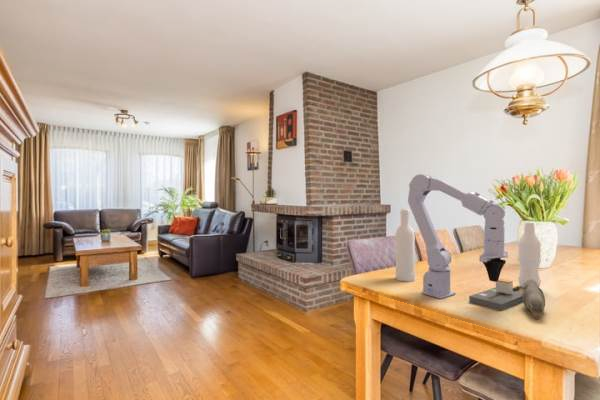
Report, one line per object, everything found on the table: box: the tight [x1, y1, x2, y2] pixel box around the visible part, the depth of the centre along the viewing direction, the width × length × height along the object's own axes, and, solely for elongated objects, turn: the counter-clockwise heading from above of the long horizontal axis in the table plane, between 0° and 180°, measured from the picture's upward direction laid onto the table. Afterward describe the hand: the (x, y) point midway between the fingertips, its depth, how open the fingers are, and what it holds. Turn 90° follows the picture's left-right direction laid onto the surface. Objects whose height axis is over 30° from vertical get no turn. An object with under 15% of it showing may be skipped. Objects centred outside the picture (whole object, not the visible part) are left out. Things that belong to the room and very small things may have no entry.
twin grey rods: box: [513, 285, 521, 292], centre depth 117 cm, size 12×6×1 cm, turn 123°
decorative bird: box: [521, 279, 546, 321], centre depth 100 cm, size 6×17×8 cm, turn 149°
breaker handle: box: [495, 278, 514, 294], centre depth 111 cm, size 3×4×4 cm
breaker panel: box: [468, 286, 523, 312], centre depth 109 cm, size 18×10×2 cm, turn 123°
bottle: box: [395, 208, 416, 283], centre depth 137 cm, size 8×8×30 cm
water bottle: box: [517, 222, 542, 289], centre depth 124 cm, size 7×7×25 cm
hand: (493, 281), depth 107 cm, fingers closed
